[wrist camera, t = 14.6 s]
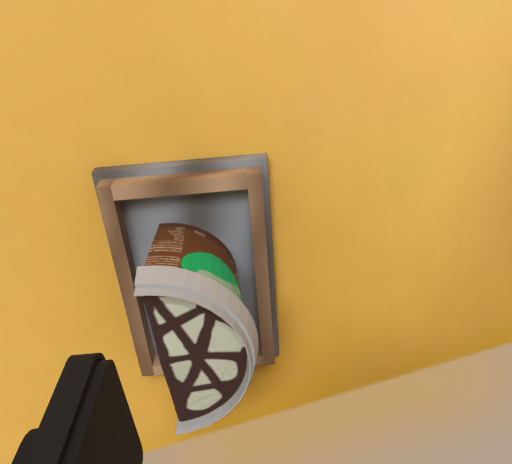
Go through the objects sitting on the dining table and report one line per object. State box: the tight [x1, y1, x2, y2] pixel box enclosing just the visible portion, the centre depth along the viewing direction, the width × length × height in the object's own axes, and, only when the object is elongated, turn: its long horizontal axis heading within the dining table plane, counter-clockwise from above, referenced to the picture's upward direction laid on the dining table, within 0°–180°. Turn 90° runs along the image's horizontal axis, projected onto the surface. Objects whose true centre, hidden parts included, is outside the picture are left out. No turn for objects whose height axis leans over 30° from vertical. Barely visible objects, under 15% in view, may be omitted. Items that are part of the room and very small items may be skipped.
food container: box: [134, 223, 259, 435], centre depth 33 cm, size 12×6×10 cm, turn 7°
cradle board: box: [92, 153, 279, 376], centre depth 37 cm, size 12×18×2 cm, turn 4°
